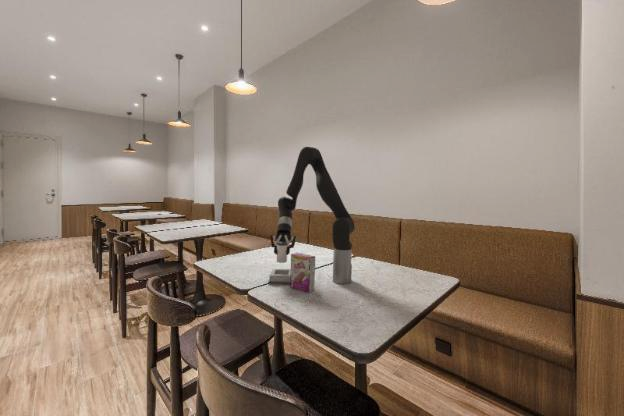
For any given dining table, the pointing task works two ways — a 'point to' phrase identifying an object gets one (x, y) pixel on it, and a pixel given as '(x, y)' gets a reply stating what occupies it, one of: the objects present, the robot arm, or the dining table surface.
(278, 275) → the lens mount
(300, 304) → the dining table surface
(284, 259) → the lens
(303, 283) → the candy bar box
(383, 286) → the dining table surface
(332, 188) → the robot arm
